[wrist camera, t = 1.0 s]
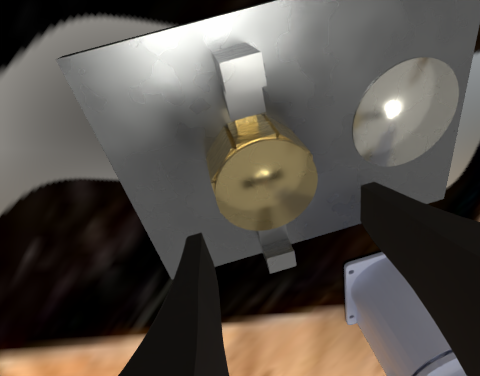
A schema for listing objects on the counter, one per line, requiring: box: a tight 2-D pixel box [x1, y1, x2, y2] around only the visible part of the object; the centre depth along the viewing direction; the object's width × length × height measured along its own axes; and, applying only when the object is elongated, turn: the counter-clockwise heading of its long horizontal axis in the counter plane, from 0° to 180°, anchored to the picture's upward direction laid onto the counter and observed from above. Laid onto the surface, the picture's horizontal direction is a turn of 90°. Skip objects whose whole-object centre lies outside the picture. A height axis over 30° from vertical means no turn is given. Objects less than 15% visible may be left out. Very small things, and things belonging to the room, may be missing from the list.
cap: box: [206, 114, 318, 231], centre depth 17 cm, size 9×6×4 cm, turn 12°
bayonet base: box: [56, 0, 480, 279], centre depth 18 cm, size 16×22×4 cm
